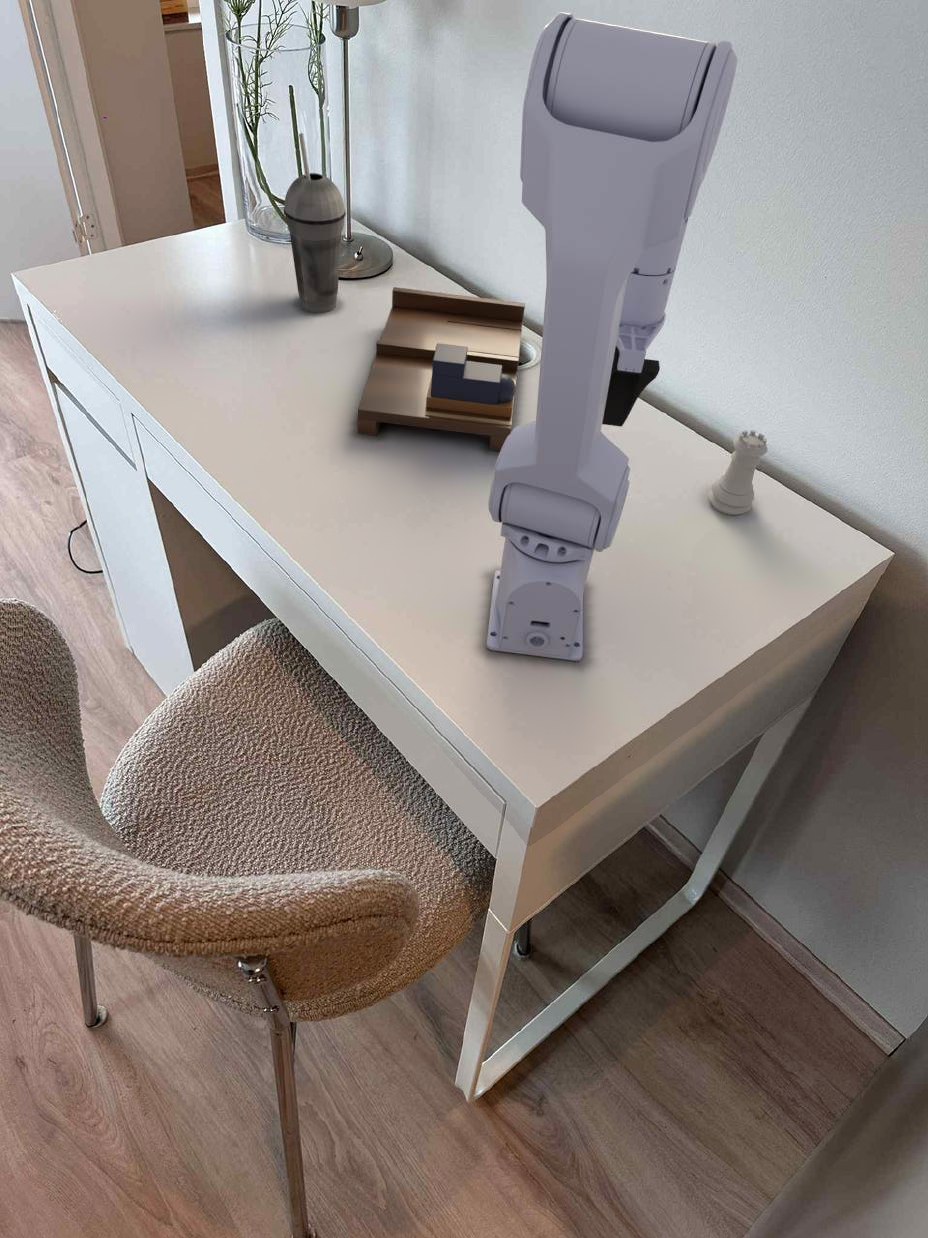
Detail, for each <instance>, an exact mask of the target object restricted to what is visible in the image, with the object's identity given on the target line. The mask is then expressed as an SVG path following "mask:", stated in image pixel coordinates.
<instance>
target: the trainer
mask: <svg viewBox="0 0 928 1238" xmlns="http://www.w3.org/2000/svg"><path fill="white" fill-rule="evenodd" d="M467 349H468V347H465V346H457V345H449V344H441V343H437V346H436V350H435V354H434V358H433V367H432V378H431V381H430V385H429V389H428V394H427V399H426V407H429V408H437V409H445V410H453V411H461V412H469V413H477V414H485V415H493V416H501V417H509V418H511V416H512V417H513V415H512V409H513V410H514V406H513V400H514V401H515V397H514V395H515V396H516V390H517V385H516V386H515V383H514V381H513V379H512V378H511V377H510V376H508V375H506V374H502V365H496V364H488V363H480V362H472V361H466V360H467Z"/></svg>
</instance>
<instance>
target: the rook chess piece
mask: <svg viewBox="0 0 928 1238" xmlns="http://www.w3.org/2000/svg"><path fill="white" fill-rule="evenodd" d="M756 432H757V430H753V429H751V430H750V431H749V433H748V430H745V429H744V430H743V431H742V432H741V433H740V434H739V436H737V437H736V438H735V439H734V440H733V447H734V449H735V450H734V451H733V452H732V453H731V455H730V457H731V461H730V463H729V465H728V467H727V469H726V470H725V472H724V474H722V475H721V476H720V477H719V478H718V479H716V480H715V481H714V483H713V484H712V485H711V490H710V491H708V499H709V502H710V504H711V505H712V507H713V508H714V509H715V510H717V511H718V512H720V513H722V514H725V515H729V516H739V515H742V514H745V513H747V512H749V511H750V510H751V508H752V507H753V501H754V500H755V490H754V484H753V479H754V475H755V472H756V469H757V467H758V466H759V465H760V464H761V460H760V458H761V457H762V456H764V455H766V453H767V452H768V447H767V438H765V435H764V434H763V433H762V432H761V433H759V434H758V435H756Z"/></svg>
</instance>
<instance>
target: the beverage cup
mask: <svg viewBox="0 0 928 1238" xmlns="http://www.w3.org/2000/svg"><path fill="white" fill-rule="evenodd" d="M304 135H305V134H304V133H303V132H301V133H299V134H298V138H299V144H300V150H301V157H302V163H303V170H304V174H302V175H300V176H298V177H296V179H294V180H293V181H292V182H291V184H290V186H289V187H288V189H287V191H286V194H285V196H284V207H283V215H284V216H285V222H286V226H287V230H288V232H289V238H290V244H291V251H292V258H293V266H294V272H295V279H296V287H297V293H298V296H299V303H300V307H301V308H302V309H303V310H305V311H306V312H310V313H316V314H319V313H320V314H321V313H328V312H331V311H333V310H335V309H336V306H337V299H338V294H339V293H338V292H339V280H340V279H339V277H340V263H341V262H340V260H341V250H342V249H341V247H342V234H343V231H344V225H345V217H346V215H347V212H346V209H345V204H344V199H343V196H342V194H341V190H339V188H338V186H337V185H336V184H335V182H333V181H332V180H331V179H330V178H329V177H328V176H325V175H324V174H320V173H316V172H310V168H309V167H310V166H309V161H308V155H307V147H306V143H305V136H304Z"/></svg>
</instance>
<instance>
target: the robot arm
mask: <svg viewBox="0 0 928 1238" xmlns="http://www.w3.org/2000/svg"><path fill="white" fill-rule="evenodd" d="M532 56H533V57H532V60H531V64H530V68H529V73H528V78H527V85H526V89H525V94H524V99H523V105H522V114H521V115H522V116H521V117H522V119H521V142H520V143H521V144H520V166H519V167H520V168H519V178H520V181H521V182H522V183H521V185H522V187H521V203H522V205H523V206H524V207H525V208H526V210H528V211H529V212H530V214H531V215H533V217H534V218H535V219H536V220H537V222H538V223H540V225H541V226H542V227H543V229H544V233H545V234H544V236H545V261H546V262H545V269H546V271H545V272H546V276H545V278H546V281H545V282H546V283H545V285H546V286H545V297H544V298H545V300H544V311H543V324H542V338H541V349H540V350H541V351H540V362H539V363H540V364H539V377H538V389H537V390H538V391H537V403H536V418H535V420H534V421H530V422H527V423H524V424H521V425H518V426H515V427H514V428H513V429H511V432H510V435H508V437H507V438H506V440H505V442H504V444H503V446H502V449H501V451H499V454H498V456H497V459H496V461H495V465H494V469H493V470H494V471H493V472H494V473H493V478H492V483H491V486H490V491H489V496H488V512H489V515H490V516H491V519H492V521H493V522H495V523H500V524H501V528H500V534H499V535H500V536H501V537H502V538H504V544H503V551H502V558H501V565H500V569H498V570H495V571H494V574H493V583H492V590H491V591H492V592H491V599H490V609H489V617H488V618H489V619H488V626H487V634H486V635H487V636H486V648H487V649H489V650H490V651H497V652H503V653H504V652H505V653H510V654H511V653H512V654H521V655H527V656H536V657H543V658H551V659H559V660H565V661H566V660H567V661H573V662H579V661H581V660H582V658H583V648H584V647H583V645H584V643H583V641H584V639H583V635H584V633H583V632H584V631H583V630H584V627H583V626H584V619H583V618H584V592H585V589H586V585H587V580H588V577H589V572H590V569H591V568H590V567H591V565H592V559H593V556H594V555H593V554H594V552H595V551H596V552H598V553H602V552H603V551H604V550H606V549H608V548H610V547H611V545H612V543H613V540H614V538H615V535H616V532H617V530H618V526H619V523H620V520H621V517H622V515H623V514H622V513H623V511H624V506H625V503H626V499H627V495H628V491H629V488H630V480H629V476H630V471H631V468H630V465H629V462H630V458H629V456H627V454H626V453H625V452H624V451H623V450H622V449H620V447H619V446H617V445H616V444H615V443H614V442H613V441H611V440H610V439H609V438H608V437H607V436H606V435H605V434H604V433H603V432H602V428H603V425H604V426H612V427H620V428H621V427H623V425H624V424H625V422H626V421H627V419H628V417H629V416H630V414H631V412H632V409H634V406H635V404H636V401H637V400H638V399H639V397H640V395H641V394H642V393H643V391H644V390H645V389H646V388H647V386H648V385H649V384H650V383H652V382H653V381H654V380H655V379H656V378H657V377H658V375H659V372H660V370H661V368H660V367H661V366H660V360H656V359H648V358H646V355H647V350H648V349H649V347H650V345H651V344H652V343H653V341H654V340H655V338H656V337H657V336H658V334H659V333H660V331H661V330H662V328H663V327H664V325H665V321H666V318H667V317H666V312H665V311H666V308H667V304H668V300H669V296H670V293H671V289H672V284H673V281H674V277H675V274H676V270H677V264H678V262H679V261H678V260H679V257H680V254H681V250H682V246H683V240H684V237H685V234H686V230H687V226H688V223H689V218H690V217H691V215H692V212H693V210H694V207H695V204H696V202H697V198H698V194H699V190H700V189H701V186H702V183H704V180H705V177H706V175H707V172H708V168H709V167H710V163H711V161H712V158H713V155H714V152H715V149H716V146H717V143H718V139H719V136H720V132H721V129H722V126H723V122H724V120H725V115H726V112H727V108H728V104H729V101H730V97H731V92H732V88H733V85H734V81H735V76H736V70H737V66H738V57H737V55H736V52H735V51H734V50H733V44H732V42H730V41H727V40H720V41H718V44H716V43H715V42H709V41H706V40H700V39H693V38H689V37H688V38H687V37H683V36H677V35H673V34H672V35H671V34H666V33H660V32H655V31H650V30H643V29H638V28H633V27H626V26H621V25H615V24H610V23H605V22H598V21H595V20H594V21H593V20H588V19H582V18H575V17H574V14H572V13H569V12H564V11H560V12H558V13H557V14H555V16H554V17H553V18H552V20H550V21H549V22H548V23H547V24H546V25H545V26H544V28H543V29H542V30H541V33H540V35H539V38H538V40H537V43H536V46H535V49H534V52H533V55H532Z"/></svg>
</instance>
